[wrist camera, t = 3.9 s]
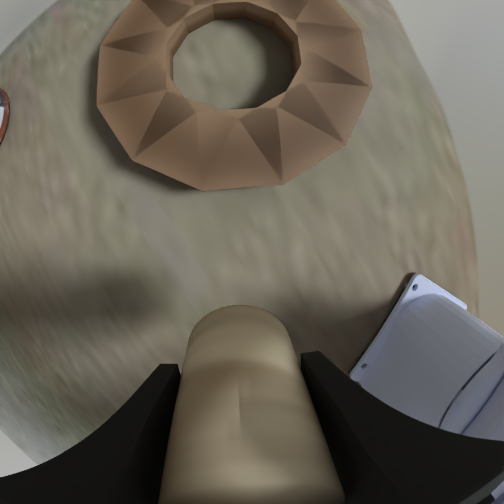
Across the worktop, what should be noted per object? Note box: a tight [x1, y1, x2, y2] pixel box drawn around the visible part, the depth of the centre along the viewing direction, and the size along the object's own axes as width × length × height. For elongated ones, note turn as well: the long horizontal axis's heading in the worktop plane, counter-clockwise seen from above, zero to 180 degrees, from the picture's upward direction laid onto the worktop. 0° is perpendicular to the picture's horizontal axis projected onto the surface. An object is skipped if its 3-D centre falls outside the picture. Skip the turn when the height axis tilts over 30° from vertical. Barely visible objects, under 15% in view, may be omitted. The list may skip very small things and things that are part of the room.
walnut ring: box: [97, 0, 372, 191], centre depth 13 cm, size 15×15×2 cm
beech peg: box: [158, 305, 345, 504], centre depth 7 cm, size 4×4×7 cm
